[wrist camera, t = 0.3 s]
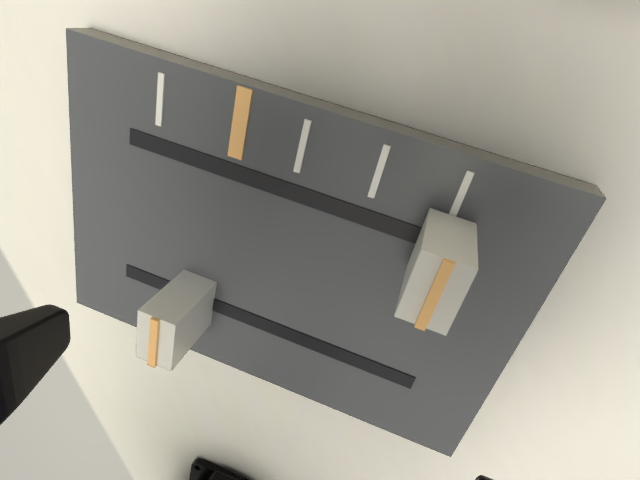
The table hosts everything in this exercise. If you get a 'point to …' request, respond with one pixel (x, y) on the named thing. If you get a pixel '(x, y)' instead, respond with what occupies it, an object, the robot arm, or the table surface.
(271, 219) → the console
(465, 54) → the table surface
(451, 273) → the fader
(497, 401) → the table surface
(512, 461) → the table surface
